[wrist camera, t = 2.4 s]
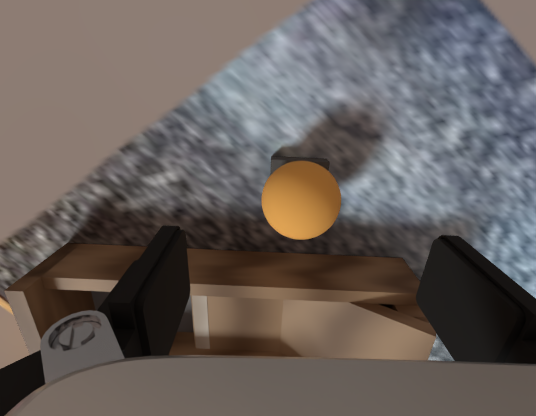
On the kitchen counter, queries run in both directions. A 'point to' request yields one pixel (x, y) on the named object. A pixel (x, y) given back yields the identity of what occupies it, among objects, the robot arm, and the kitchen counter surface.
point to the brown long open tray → (247, 302)
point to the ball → (301, 200)
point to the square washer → (281, 161)
